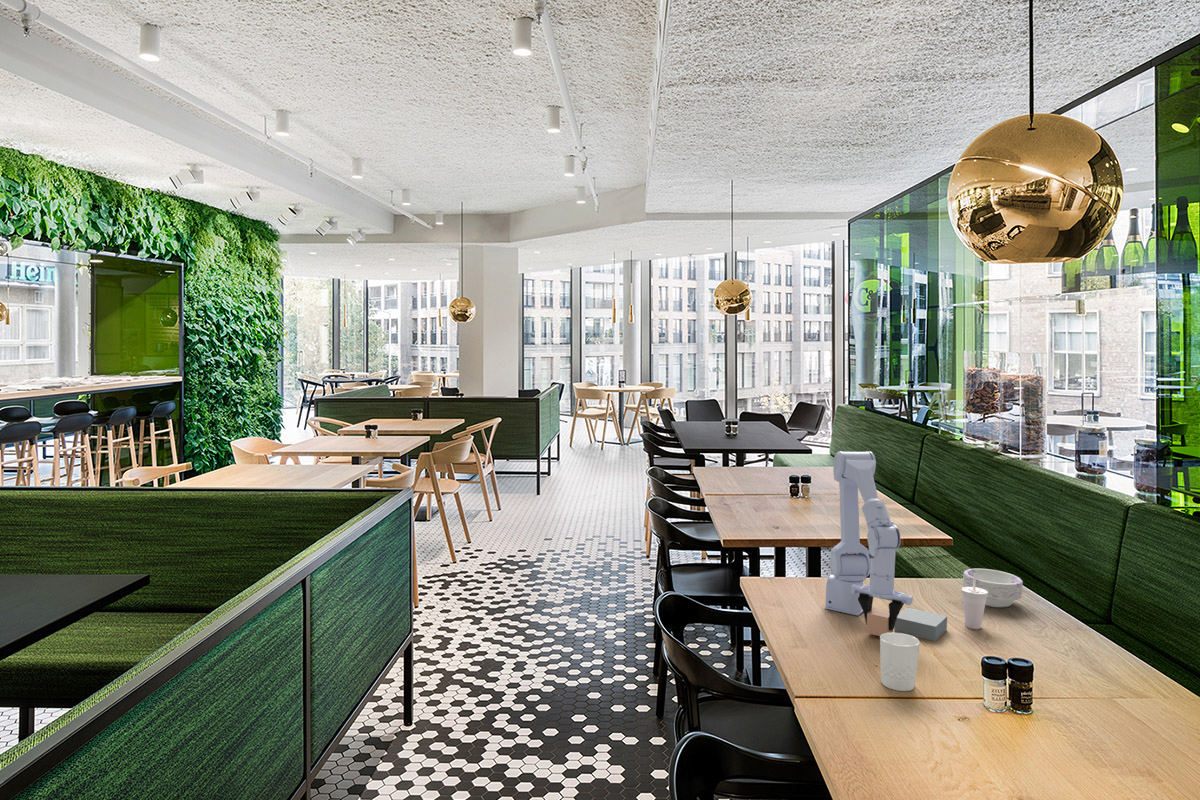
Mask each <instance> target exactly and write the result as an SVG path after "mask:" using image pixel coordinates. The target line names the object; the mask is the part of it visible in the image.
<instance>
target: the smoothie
mask: <svg viewBox="0 0 1200 800" xmlns="http://www.w3.org/2000/svg"><path fill="white" fill-rule="evenodd" d="M975 581H976V573H974V574H973V587H963V586H962V587H961V590H960V593H961V594H962V604H963V617H964V626H965V627H966V628H968V629H973V630H979V629H981V628H982V623H983V619H984V618H983V617H984V613H985V608H986V606H985V603H986V598H987V597H988V591H986V590H984V589H982V588H977V587H975Z"/></svg>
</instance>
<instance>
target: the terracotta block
mask: <svg viewBox="0 0 1200 800" xmlns="http://www.w3.org/2000/svg"><path fill="white" fill-rule="evenodd" d="M884 633H894V629H893V630H892V631H890V630H889V610H885V609H880V608H879V609H878V608H874V607H872V610H871V611H869V612H868V613H867V625H866V634H869V635H872V636H873V635H874V636H878V637H880V636H881V635H882V634H884Z"/></svg>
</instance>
